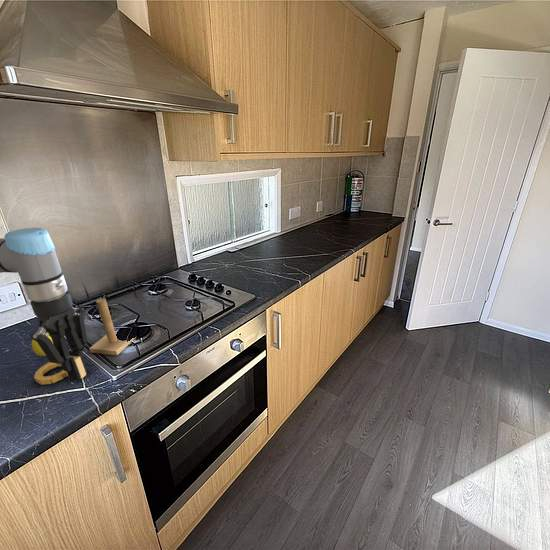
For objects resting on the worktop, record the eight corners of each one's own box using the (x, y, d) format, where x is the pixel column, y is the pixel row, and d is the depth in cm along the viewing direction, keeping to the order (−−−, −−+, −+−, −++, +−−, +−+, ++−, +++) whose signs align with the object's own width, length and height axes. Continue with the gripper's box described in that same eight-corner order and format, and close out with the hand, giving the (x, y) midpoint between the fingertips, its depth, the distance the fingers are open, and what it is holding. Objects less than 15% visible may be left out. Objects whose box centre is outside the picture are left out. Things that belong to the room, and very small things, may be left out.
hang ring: (27, 382, 76) (19, 364, 73) (55, 361, 83) (48, 343, 81) (71, 388, 73) (63, 369, 71) (96, 365, 81) (90, 348, 78)
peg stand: (90, 352, 87) (74, 306, 81) (111, 335, 95) (98, 292, 89) (117, 355, 85) (103, 309, 79) (136, 337, 93) (124, 294, 87)
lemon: (32, 361, 84) (22, 338, 81) (48, 349, 89) (39, 327, 86) (49, 362, 83) (40, 339, 80) (65, 350, 88) (56, 327, 85)
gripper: (33, 312, 61) (68, 398, 70) (87, 283, 74) (110, 358, 83) (4, 310, 62) (41, 394, 71) (62, 281, 75) (87, 355, 84)
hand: (78, 374), depth 77 cm, fingers closed on hang ring, 2 cm apart
